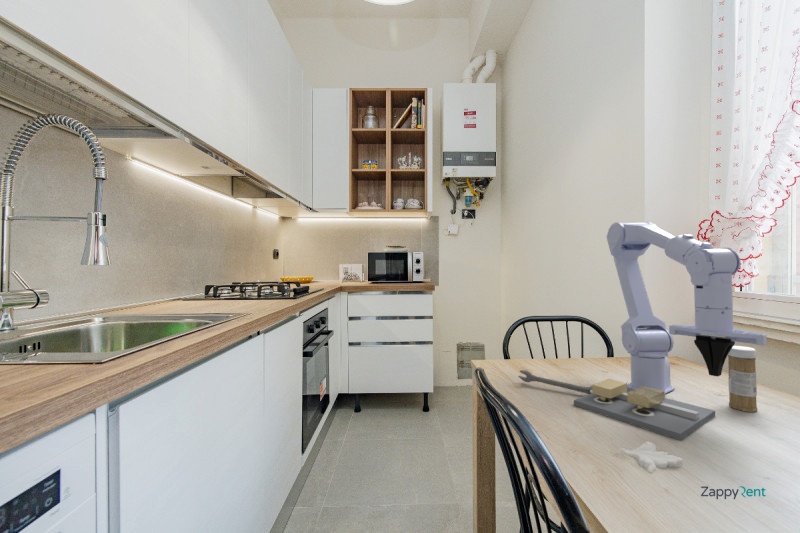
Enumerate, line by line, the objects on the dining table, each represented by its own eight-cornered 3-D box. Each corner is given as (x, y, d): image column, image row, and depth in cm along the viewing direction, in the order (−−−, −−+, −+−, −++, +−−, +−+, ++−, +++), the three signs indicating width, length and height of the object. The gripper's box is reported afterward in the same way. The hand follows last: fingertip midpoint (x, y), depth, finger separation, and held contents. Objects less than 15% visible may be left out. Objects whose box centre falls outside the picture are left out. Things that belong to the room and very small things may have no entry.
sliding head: (643, 399, 77) (643, 385, 77) (665, 405, 74) (664, 390, 74) (627, 407, 73) (627, 392, 73) (649, 413, 70) (648, 398, 70)
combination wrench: (601, 385, 82) (518, 367, 95) (600, 389, 81) (516, 370, 94) (602, 396, 84) (520, 377, 96) (601, 400, 83) (518, 380, 96)
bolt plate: (613, 389, 89) (613, 372, 89) (715, 416, 72) (714, 395, 72) (573, 405, 79) (573, 385, 79) (680, 440, 62) (679, 416, 62)
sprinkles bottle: (736, 403, 78) (734, 344, 79) (762, 410, 74) (760, 348, 74) (723, 406, 77) (722, 346, 77) (750, 414, 73) (748, 350, 73)
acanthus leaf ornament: (649, 448, 61) (648, 438, 61) (689, 470, 54) (689, 458, 54) (613, 453, 59) (613, 442, 59) (650, 477, 52) (650, 464, 53)
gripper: (662, 306, 74) (664, 369, 73) (758, 312, 61) (760, 388, 61) (675, 304, 77) (677, 364, 77) (768, 309, 65) (770, 381, 65)
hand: (715, 374), depth 70 cm, fingers closed
